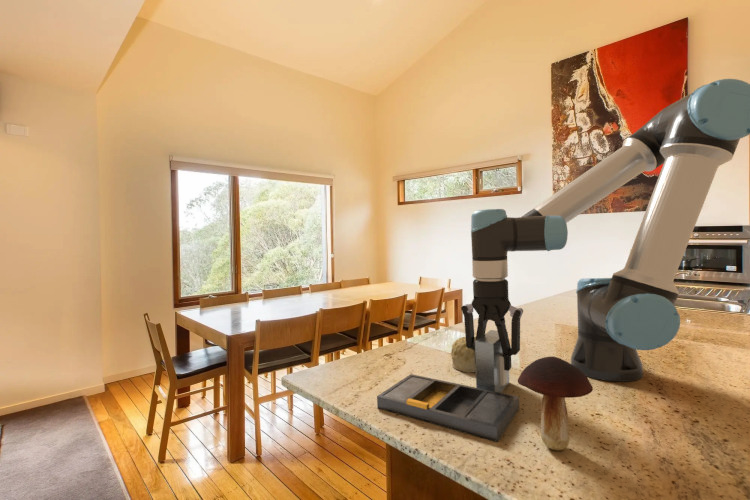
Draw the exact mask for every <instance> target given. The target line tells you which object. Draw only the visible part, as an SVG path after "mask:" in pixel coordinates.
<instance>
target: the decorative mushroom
mask: <svg viewBox="0 0 750 500" xmlns="http://www.w3.org/2000/svg"><path fill="white" fill-rule="evenodd" d="M517 383H518V385H520V386H522V387H525V388H527V389H529V390H530V391H532V392H535V393H537V394H539V395H540V394H541V395H542V401H541V407H540V436H541V440H542V443H543V444H544V445H545V446H546V447H547V448H549V449H550V450H553V451H562V450H565V449H566V448H567V447H568V446H569V442H570V422H569V416H568V414H569V412H568V409H567V405H566V404H567V403H566V399H567V398H571V399H572V398H573V399H574V398H581V397H585V396H587V395H589V394H591V393H592V392H593V389H594V388H593V385H592V384H591V382H590V380H589V377H588V376H586V375H585V374H584V373H583V372H582V371H581V370H579V369H578V368H577V367H575V366H574V365H572V364H571V362H569V361H567V360H564V359H562V358H559V357H555V356H544V357H541V358H538V359H536V360H534V361H533V362H531V363H530V364H528V365H527V366H526V367H525V368H524V369H523V370H522V371H521V373H520V375H519V377H518V378H517ZM565 398H566V399H565Z"/></svg>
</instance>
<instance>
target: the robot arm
mask: <svg viewBox="0 0 750 500" xmlns="http://www.w3.org/2000/svg"><path fill="white" fill-rule="evenodd" d="M748 136H750V83H749V82H747V81H744V80H742V79H737V78H722V79H718V80H715V81H712V82H710V83H707V84H703V85H702V86H699V87H697V88H696V89H695V90H694V91H693V92H691V93H690V94H687V95H686V96H683V97H682V98H681V99H678V100H676V101H675V102H673V103H671V104H669V105H667V106H666V107H665V108H662V109H661V110H660V111H659V112H658V113H657V114H655V115H654V116H653V117H651V118H650V119H649V121H647V122H646V123H645V124H643V125H642V126H641V127H640V128H639V129H637V130H636V131H635V132H634V133H632V134H631V135H629V136H627V138H625V139H624V140H623V142H622V147H619V148H618V149H617V150H616V151H614V152H613V153H611V154H610V155H607V156H606V158H604V159H602V160H600V161H599V162H598V163H597V164H596V165H594V166H592V167H591V168H589V169H588V170H587V171H585V172H583V173H581V175H579V176H578V177H576V178H575V179H574V180H572V181H571V182H570V183H568V184H566V185H565V186H564V187H562V188H561V189H559V190H558V191H556V192H555V193H554V194H552V195H550V196H549V197H548V198H546V199H545V200H543V201H542V202H540V203H539V204H538V205H536V206H535V207H534V208H532V209H531V210H530V211H528V212H527V213H525V214H523V215H521V217H520V216H519V217H508V215H507V211H506V210H505V209H503V208H491V209H490V208H489V209H488V208H487V209H478V210H475V211H474V212H472V214H471V223H470V224H471V225H470V227H471V229H470V236H471V238H470V239H471V258H472V260H471V261H472V262H471V263H472V278H474V279H473V280H472V292H473V299H472V301H471V303H468V304H464V305H461V307H460V308H461V312H462V315H463V319H464V321H463V322H464V331H465V332H464V333H465V336H464V337H466V347H467V348H471V349H472V350H474V352H475V341H476V340H477V339H479V338H480V337H482V336H483V335H485V334H486V330H487V324H488V321H492V322H494V325H495V326H496V331H498V335H499V339H500V344H501V348H502V352H503V354H502V355H501V356H500V386H504V385H505V384H506V383H507V371H509V372H510V370H511V368H512V356H516V355H517V354H519V352H520V351H521V318H522V316H523V314H524V309H523V308H522V307H519V308H518V307H515V306H513V305H512V304H511V301H510V299H509V281H508V280H507V279H506V278H507V277H508V276H509V273H508V272H509V271H508V267H509V265H508V252H531V251H532V252H544V251H547V252H551V251H558V250H559V251H560V250H563V249H564V248H565V247H566V245H567V243H568V242H567V241H568V234H569V233H568V231H569V230H568V224H567V223H569V222H570V221H572V220H573V219H575V218H577V217H578V216H579V215H580V214H582V213H583V212H585V211H587V210H588V209H590V208H591V207H592V206H594V205H596V204H597V203H598V202H600V201H601V200H603V199H604V198H606V197H607V196H609V195H610V194H612V193H613V192H615V191H616V190H618V189H620V188H621V187H623V186H624V185H625V184H627V183H628V182H630V181H631V180H633V179H634V178H636V177H638V176H639V175H641V174H642V173H643V172H647V173H648V172H649V173H650V172H652V171H654V170H656V169H658V168H659V167H660V166H662V168H661V170H660V173H659V175H658V178H657V180H656V183H655V185H654V189H653V191H652V194H651V196H650V199H649V201H648V205H647V207H646V209H645V212H644V215H643V217H642V220H641V223H640V225H639V228H638V231H637V232H636V233H637V234H636V236H635V238H634V242H633V244H632V246H631V248H630V249H631V250H630V252H629V255H628V258H627V261H626V263H625V265H624V267H623V268H622V269H620V270H618V271H616V272H613V274H612V275H611V277H598V278H594V277H593V278H592V277H589V278H580V279H579V280H578V281H577V282H576V283H577V286H576V287H577V288H576V291H575V293H576V297H577V298H576V302H577V305H576V306H577V339H576V342H575V345H574V348H573V351H572V353H571V356H570V364H572V365H574V366H575V367H577V368H578V369H579V370H581V371H582V372H583V373H584V374H585V375H586V377H587V378H591V379H592V378H593V379H597V380H600V381H606V382H607V381H608V382H623V383H624V382H633V381H638V380H640V379H642V378H643V376H644V367H643V363H642V360H641V358H640V356H639V353H638V351H651V350H656V349H659V348H662V347H664V346H666V345H668V344H669V343H670V342H672V340H673V339H674V338H675V337H676V336H677V334H678V332H679V330H680V327H681V316H680V313H678V308H677V307H676V306H675V304H676V301H677V300H678V296H679V294H680V292H679V289H678V288H677V286H675V284H674V280H675V278H676V275H677V273H678V270H679V267H680V266H681V262H682V260H683V257H684V255H685V252H686V249H687V247H688V245H689V242H690V239H691V237H692V234H693V232H694V229H695V228H696V227H695V226H696V224H697V222H698V219H699V216H700V214H701V212H702V209H703V206H704V204H705V201H706V199H707V196H708V193H709V191H710V189H711V185H712V183H713V181H714V178H715V176H716V172H717V171H718V168H719V167H720V166H722V165H725V164H726V163H728V162H730V161H731V160H733V157H734V155H735V152H736V151H737V147H738V145H739V143H740V139H743V138H745V137H748ZM474 311H475V312H476V313H477V316H478V318H477V327H476V328H477V329H476V334H475V325H474V315H473V313H474ZM508 312H509V315H510V317H511V321H510V322H511V323H510V325H511V329H510V331H511V333H510V335H511V337H510V338H511V339H510V338H509V333H508V334H507V332H508V329H507V327H506V318H505V316H506V315H507V313H508ZM475 335H476V336H475ZM475 337H476V339H475ZM510 340H511V341H510ZM510 342H511V344H510ZM475 364H476V359H475Z"/></svg>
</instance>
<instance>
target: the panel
mask: <svg viewBox="0 0 750 500" xmlns="http://www.w3.org/2000/svg"><path fill="white" fill-rule="evenodd" d="M507 334H508V335H509V332H508V331H507ZM502 354H503V352H502V348H501V344H500V339H499V335H498V331H497V330H494V329H490V330H489V331H487V332H485V335H483V336H482V337H480V338H479V339H477V340H476V341H475V359H476V372H475V378H476V379H475V384H476V385H475V386H476V387H475V388H480V389H485V390H490V391H495V392H500V393H503V391H504V389H505V388H506V387H507V386H508V385H509V383H510V370H509V371H507V383H506V384H505V385H504V386H500V356H501V355H502Z"/></svg>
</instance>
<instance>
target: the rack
mask: <svg viewBox="0 0 750 500" xmlns="http://www.w3.org/2000/svg"><path fill="white" fill-rule="evenodd" d="M376 403H377V406H376V407H377V409H379V410H383V411H387V412H390V413H393V414H398V415H401V416H404V417H408V418H412V419H415V420H418V421H422V422H425V423H428V424H429V423H430V424H433V425H436V426H439V427H443V428H447V429H450V430H454V431H458V432H461V433H463V434H464V433H465V434H468V435H471V436H475V437H478V438H483V439H485V440H489V441H493V442H495V443H498V442H499V440H500V439H501V437H502V435H503V434H504V433H505V431H506V430H507V428H508V427H509V425H510V424H511V422H512V421H513V419H514V418H515V416H516V414H517V413H518V411H519V410H520V396H517V395H514V394H507V393H504V392H501V393H500V392H495V391H490V390H485V389H480V388H476V387H474V386H471V385H466V384H462V383H461V384H460V383H457V382H456V383H455V382H450V381H446V380H442V379H441V380H440V379H435V378H431V377H427V376H422V375H417V374H412V373H411V374H409V375H407V376H406V377H404V378H402V379H401V380H399V381H398V382H396V383H395V384H393V385H392V386H391V387H389V388H387V389H386V390H384V391H383V392H381V393H379V394H378V395H377V396H376Z"/></svg>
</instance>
